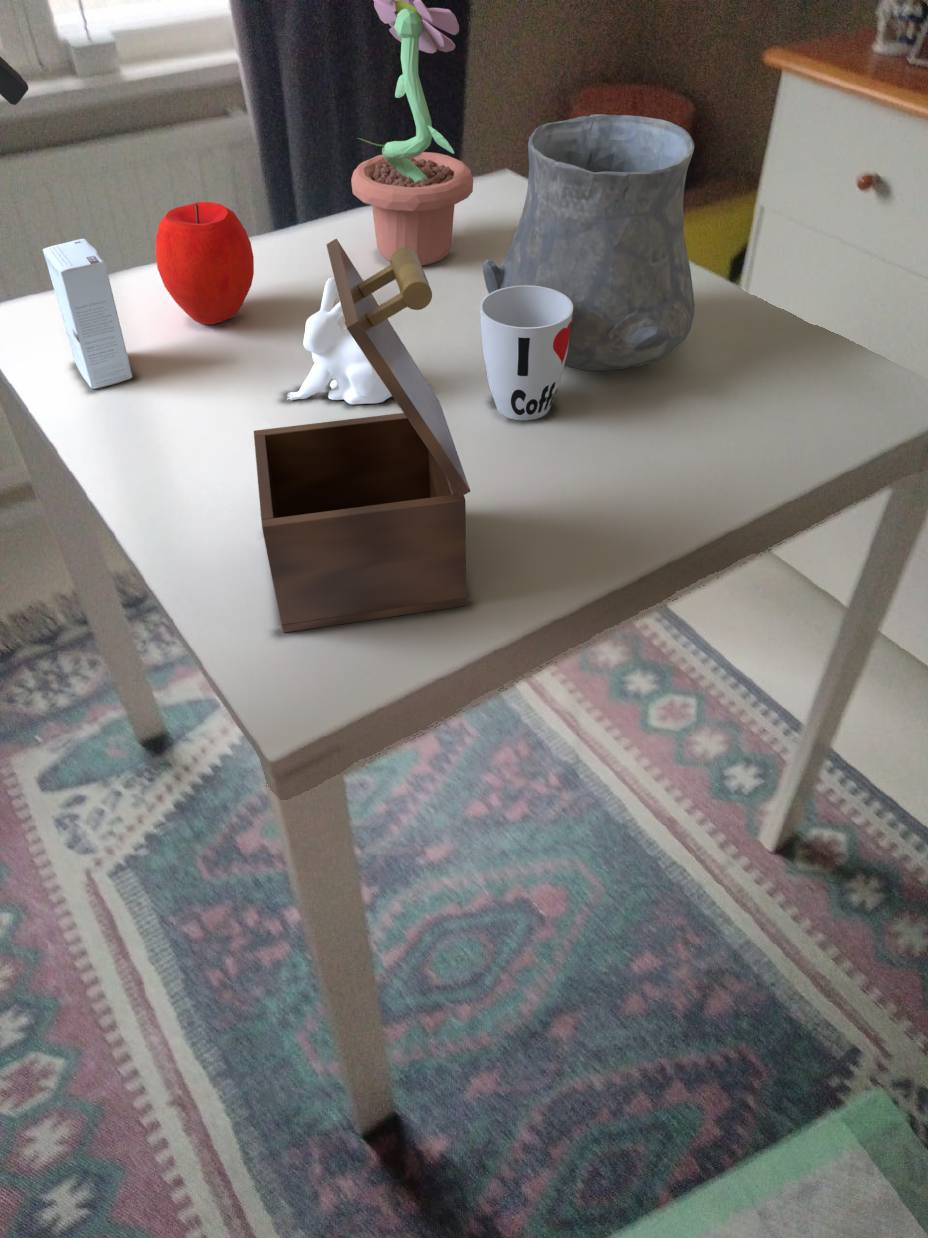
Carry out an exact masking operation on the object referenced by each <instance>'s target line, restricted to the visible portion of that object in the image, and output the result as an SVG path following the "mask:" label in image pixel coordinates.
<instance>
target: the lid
mask: <svg viewBox="0 0 928 1238" xmlns="http://www.w3.org/2000/svg"><path fill="white" fill-rule="evenodd" d="M326 249H327V253H328V258H329V261H330V266H331V270H332V274H333V277H334V278H335V282H336V286H337V291H338V292H337V295H338V299H339V302H340V303H341V307H342V311H343V315H344V316H343V319H344V323H345V327H346V329H347V330H348V331H349V333H350V334H351V335H352V337H353V338H354V340H355V341H356V343H357V344H358V346H359V347H360V349H361V350H362V352H363V353H364V355H365V356H366V358H367V359H368V361H369V362H370V364H371V365H372V367H373V368H374V370H375V371H376V373H377V374H378V376H379V377H380V378H381V380H382V381H383V383H384V384H385V386H386V387H387V389H388V390H389V392H390V393H391V395H392V396H393V397H392V398H393V400H394V401H395V403H396V404H397V405H398V408H400V409H401V411H402V413H404V414H405V416H406V417H407V418H408V420H409V421H410V423H411V424H412V426H413V427H414V429H415V430H416V432H417V433H418V435H419V436H420V438H421V439H422V441H423V442H424V444H425V445H426V447H427V448H428V450H429V451H430V453H431V454H432V456H433V457H434V459H435V460H436V461H437V463H438V464H439V466H440V467H441V469H442V470H443V472H444V473H445V475H446V476H447V478H448V479H449V481H450V482H451V484H452V485H453V487H454V488H455V490H456V491H457V493H458V494H459V496H460V497H461V496H463V495H464V496H465V495H467V494H469V493H470V492H471V488H470V485H469V482H468V479H467V477H466V474H465V472H464V471H465V470H464V467H463V466H462V463H461V459H460V456H459V453H458V451H457V447H456V445H455V442H454V439H453V437H452V433H451V430H450V427H449V425H448V422H447V419H446V416H445V414H444V411H443V407H442V405H441V401H440V399H439V398H438V396H437V394H436V393H435V391H434V390H433V389H432V387H431V385H430V384H429V382H428V380H427V378H426V377H425V376H424V374H423V372H422V371H421V369H420V368H419V366H418V365H417V363H416V361H415V360H414V358H413V357H412V356H411V354H410V352H409V351H408V348H407V347H406V345H405V344H404V342H403V341H402V339H401V338H400V337H399V335H398V332H397V331H396V330H395V328H394V327H393V325H392V324H391V322H390V321H389V318H391V317H392V316H394V315H396V314H397V313H399V312H401V311H402V310H404V309H406V308H408V309H410V310H414V311H420V310H423V309H425V308H427V307H428V306H429V305H430V304H431V302H432V299H433V291H432V288H431V286H430V283H429V281H428V279H427V275H426V273H425V270H424V268H423V265H421V263H420V260H419V258H418V255H417V254H416V252H415V251H414V250H412V249H410V248H406V247H404V248H400V249H398V250H396V251H395V252H394V253H393V255H392V257H391V261H390V265H388V266H386V267H384V268H383V269H381V270H380V271H378V272H376V273H374V274H373V275H371V276H369V277H368V278H366V279H364V280H363V278H362V275H360V273H359V271H358V269H357V268H356V267H355V265H354V264H353V261H352V259H350V257H349V256H348V253H346V250H345V249H344V247H343V246H342V245H341V243H340V242H339V239H338V238H335V239H333V240H331V241H329V242H327V243H326ZM393 281H395V282H396V283H397V287H398V290H399V293H398V294H396V295H394V296H393V297H391V298H390V299H387V300H386V301H384V302H383V303H381V304H380V305H379V303H378V301H377V300H376V299H375V297H374V295H373V294H374V293H375V292H376V291H378V290H380V289H382V288H383V287H385V286H386V285H389V284H390V283H392V282H393ZM395 331H396V332H395Z"/></svg>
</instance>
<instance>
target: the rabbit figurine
mask: <svg viewBox="0 0 928 1238" xmlns="http://www.w3.org/2000/svg"><path fill="white" fill-rule="evenodd" d="M337 295H338V291H337V286H336V282H335V278H334V276H331V277H329V278H328V279H326V282H325V283H324V289H323V293H322V298H321V304H320V308H319V310H318V311H317V312H315V313H313V314H312V315H310V316H309V317H308V318H307V320H306V322H305V326H304V327H305V329H304V335H303V342H302V343H303V347H304V349H305V350H306V351H308V352H310V353H311V357H312V361H313V365H312V367H311V369H310V371H309V373H308V375H307V377H305V379H304V381H303V383H302V384H301V386H300V388H299V390H298V391H290V392H288V393H287V395H286V397H287V398H286V400H290V401H293V400H306V399H308V398H310V397H311V396H313V395H315V394H317V393H319V392H321V391H322V390H323V389H326V387H327V386H328V385H329V387H330V388H331V389H329V391H328V394H327V397H328V399H329V400H331V401H340V400H344V401H345V402H346V403H347V404H349V405H364V404H379V403H383V402H385V401H386V400H387V399H389V398H393V396H392V395H391V393H390V392H389V390H388V389H387V387H386V386H385V384H384V383H383V381H382V380H381V378H380V377H379V376H378V374H377V373H376V371H375V370H374V368H373V367H372V365H371V364H370V362H369V361H368V359H367V358H366V356H365V355H364V353H363V352H362V350H361V349H360V347H359V346H358V344H357V343H356V341H355V340H354V338H353V337H352V335H351V334H350V333H349V331H348V330H347V328H343V327H341V326H340V325H339V324H338V321H339V320H341V319H342V318H344V315H343V311H342V307H341V303H340V301H339V302H338V303H337V304H335V302H336V297H337ZM395 332H396V333H397V331H396V330H395ZM332 379H333V380H332Z"/></svg>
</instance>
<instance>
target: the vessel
mask: <svg viewBox="0 0 928 1238" xmlns="http://www.w3.org/2000/svg"><path fill="white" fill-rule="evenodd" d="M694 150H695V142H694V139H693V138H692V136H691V134H690V133H689V132H688V131H687V130H686V129H685V128H684V127H682V126H680V125H678V124H676V123H673V122H670V121H668V120H665V119H660V118H652V117H646V116H642V115H631V114H629V115H628V114H624V115H623V114H602V113H600V114H591V115H589V116H586V115H582V116H578V117H574V118H569V119H565V120H559V121H553V122H548V123H545V124H541V125H540V126H538V127H536V128H535V129H534V130H533V132H532V133H531V135H530V136H529V137H528V142H527V152H528V153H527V154H528V180H527V190H526V195H525V200H524V204H523V208H522V214H521V216H520V218H519V222H518V225H517V227H516V231H515V234H514V236H513V239H512V241H511V245H510V248H509V250H508V252H507V255H506V258H505V259H504V261H503V262H502V264H501V265H499V266H498V265H497V264H496V262H494V260H491V259H486V260H484V262H483V265H482V274H483V278H484V283H485V288H486V290H487V293H488V294H490V293H492V292H494V291H496V290H499V289H502V288H506V287H512V286H523V285H529V286H540V287H546V288H550V289H553V290H556V291H558V292H561V293H562V294H564V295H566V296H567V297H568V298H569V299H570V300H571V302H572V304H573V314H572V321H571V329H570V337H569V344H568V352H567V356H566V360H565V364H564V367H572V368H576V369H580V370H585V371H614V370H623V369H631V368H632V369H633V368H635V367H638V366H639V367H640V366H643V365H646V364H649V363H652V362H655V361H656V360H659V359H661V358H663V357H664V356H665V357H666V355H668V354H671V352H673V351H674V350H675V349H677V348H678V347H679V346H680V345H682V344H683V342H684V341H686V339H687V337H688V336H689V334H690V332H691V330H692V328H693V323H694V320H695V306H696V305H695V292H694V286H693V278H692V272H691V271H692V270H691V266H690V261H689V254H688V250H687V243H686V236H685V229H684V227H685V226H684V219H685V218H684V197H685V196H684V194H685V185H686V179H687V173H688V168H689V165H690V163H691V159H692V157H693V154H694Z"/></svg>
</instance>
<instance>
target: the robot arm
mask: <svg viewBox="0 0 928 1238" xmlns="http://www.w3.org/2000/svg"><path fill="white" fill-rule="evenodd" d="M28 91H29V85H28V82H27V81H25V79H24V78H23V77H22V76H21V74H20V73H19V72H18V71H17V70H16V69H14V68H13V66H12V65H10V64H9V63H8V62H7V61H6V60H5V59H4V58H3V57H2V56H0V96H1V97H2V98H3V99H5V100H6V101H7V102H8V103H9V104H10V105H13V106H16V105H17V104H19V102H21V100H22V99H23V98H24V97H25V95H26V94H27V92H28Z"/></svg>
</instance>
